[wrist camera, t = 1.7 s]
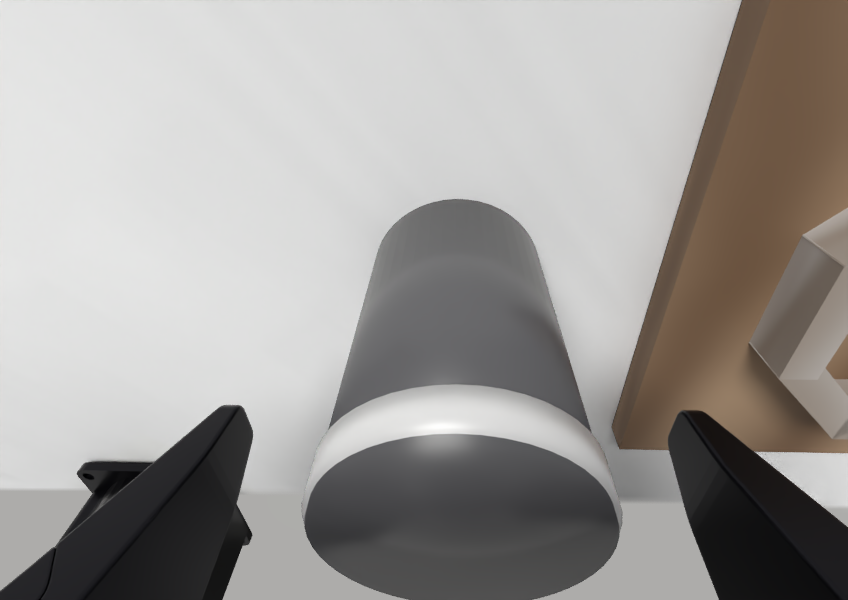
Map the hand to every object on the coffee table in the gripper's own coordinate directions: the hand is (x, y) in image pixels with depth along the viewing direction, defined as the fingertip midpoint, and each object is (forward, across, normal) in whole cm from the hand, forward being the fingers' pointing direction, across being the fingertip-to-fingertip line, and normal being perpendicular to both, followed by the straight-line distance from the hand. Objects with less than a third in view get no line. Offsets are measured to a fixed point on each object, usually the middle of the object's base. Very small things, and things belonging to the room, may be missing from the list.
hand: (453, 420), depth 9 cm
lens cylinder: (+6, 0, 0) cm, 6 cm away
